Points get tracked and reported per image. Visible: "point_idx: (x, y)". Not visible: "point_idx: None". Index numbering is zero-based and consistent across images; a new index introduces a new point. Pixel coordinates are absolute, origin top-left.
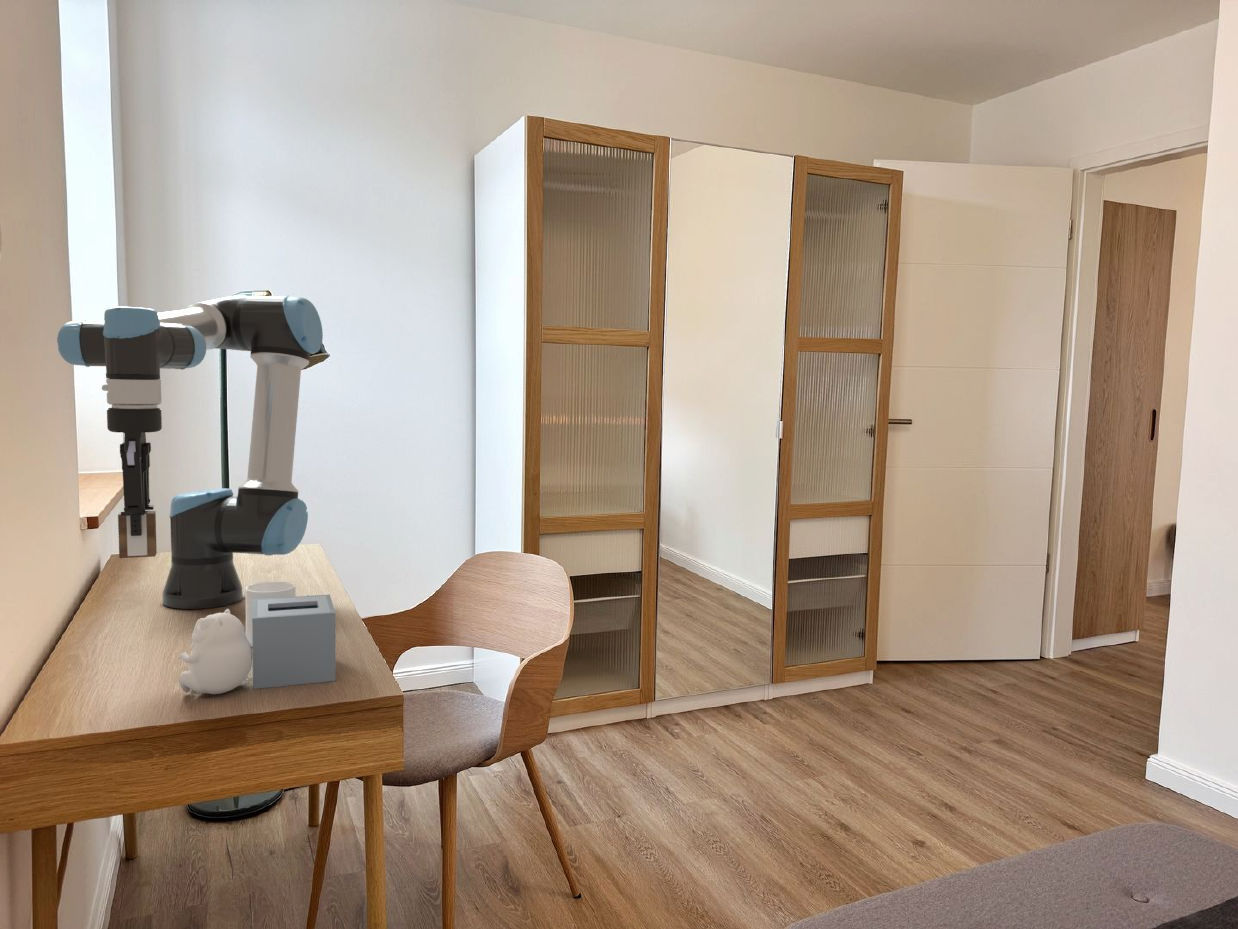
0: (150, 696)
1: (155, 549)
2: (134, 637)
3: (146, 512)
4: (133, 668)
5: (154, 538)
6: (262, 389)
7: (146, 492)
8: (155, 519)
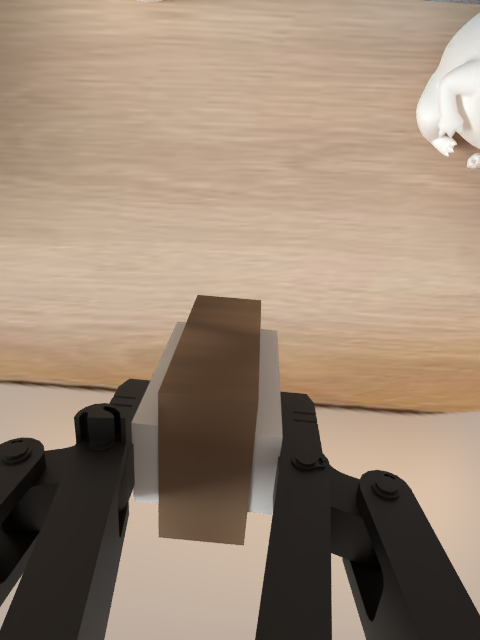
0: (448, 227)
1: (235, 307)
2: (38, 263)
3: (207, 435)
4: (256, 260)
5: (259, 332)
6: None
7: (102, 527)
8: (183, 367)
